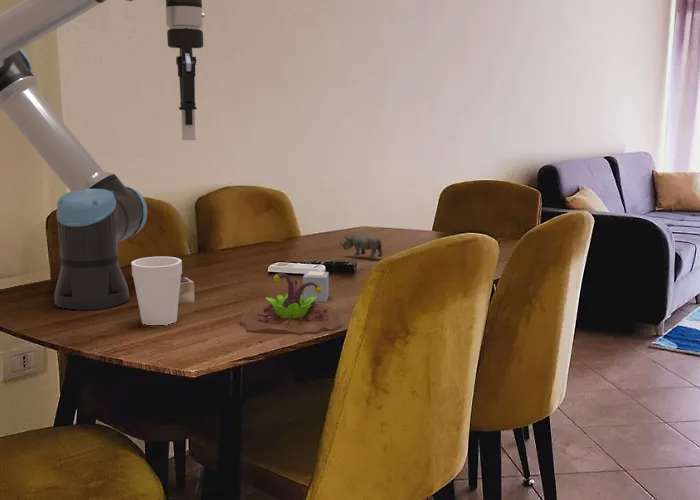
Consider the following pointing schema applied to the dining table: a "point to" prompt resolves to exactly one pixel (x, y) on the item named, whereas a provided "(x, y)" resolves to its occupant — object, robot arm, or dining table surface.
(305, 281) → the tile block
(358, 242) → the rhino figurine
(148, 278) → the foam cup
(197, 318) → the dining table surface
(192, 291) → the tile block
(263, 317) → the plant
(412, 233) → the dining table surface
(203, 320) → the dining table surface
